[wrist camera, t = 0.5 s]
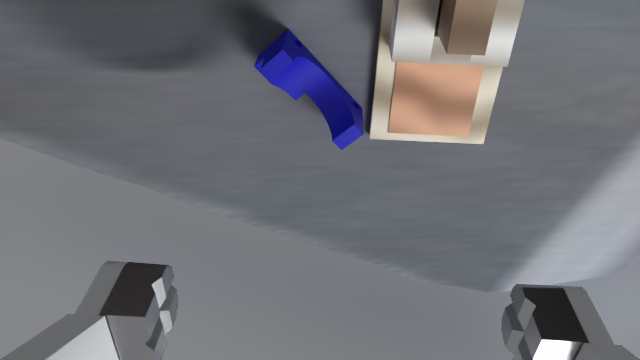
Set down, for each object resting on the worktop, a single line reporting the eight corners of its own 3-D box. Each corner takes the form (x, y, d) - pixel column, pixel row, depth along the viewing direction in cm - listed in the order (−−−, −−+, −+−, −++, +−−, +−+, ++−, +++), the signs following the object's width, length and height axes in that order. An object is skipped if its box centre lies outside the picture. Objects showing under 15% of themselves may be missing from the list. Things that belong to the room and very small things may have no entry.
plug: (440, -37, 46) (458, -11, 39) (475, -35, 46) (499, -9, 39) (431, 19, 49) (446, 53, 42) (464, 21, 49) (484, 55, 42)
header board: (390, -75, 45) (394, -65, 41) (533, -70, 45) (552, -60, 41) (369, 134, 58) (371, 157, 54) (481, 139, 58) (491, 163, 54)
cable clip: (258, 55, 53) (249, 78, 48) (288, 28, 51) (282, 49, 47) (331, 129, 58) (330, 157, 53) (362, 107, 56) (363, 134, 52)
